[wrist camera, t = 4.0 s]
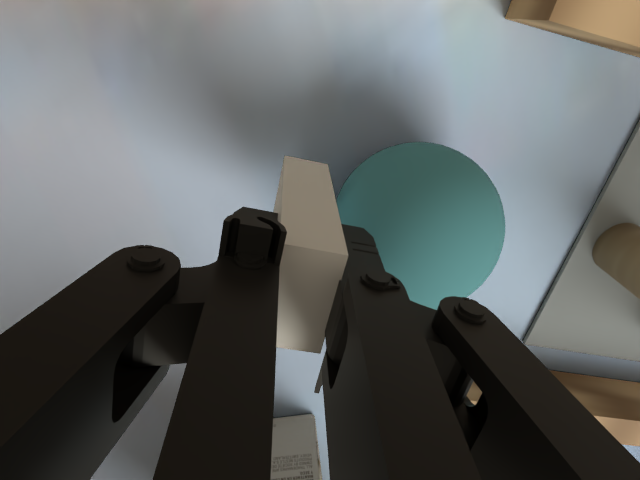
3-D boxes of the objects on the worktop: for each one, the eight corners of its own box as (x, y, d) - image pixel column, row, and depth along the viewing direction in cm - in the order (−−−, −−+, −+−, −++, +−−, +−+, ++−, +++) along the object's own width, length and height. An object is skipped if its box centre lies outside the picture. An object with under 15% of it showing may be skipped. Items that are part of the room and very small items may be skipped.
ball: (361, 355, 14) (505, 339, 17) (416, 167, 12) (574, 182, 14) (295, 261, 19) (414, 259, 22) (324, 114, 17) (455, 132, 19)
